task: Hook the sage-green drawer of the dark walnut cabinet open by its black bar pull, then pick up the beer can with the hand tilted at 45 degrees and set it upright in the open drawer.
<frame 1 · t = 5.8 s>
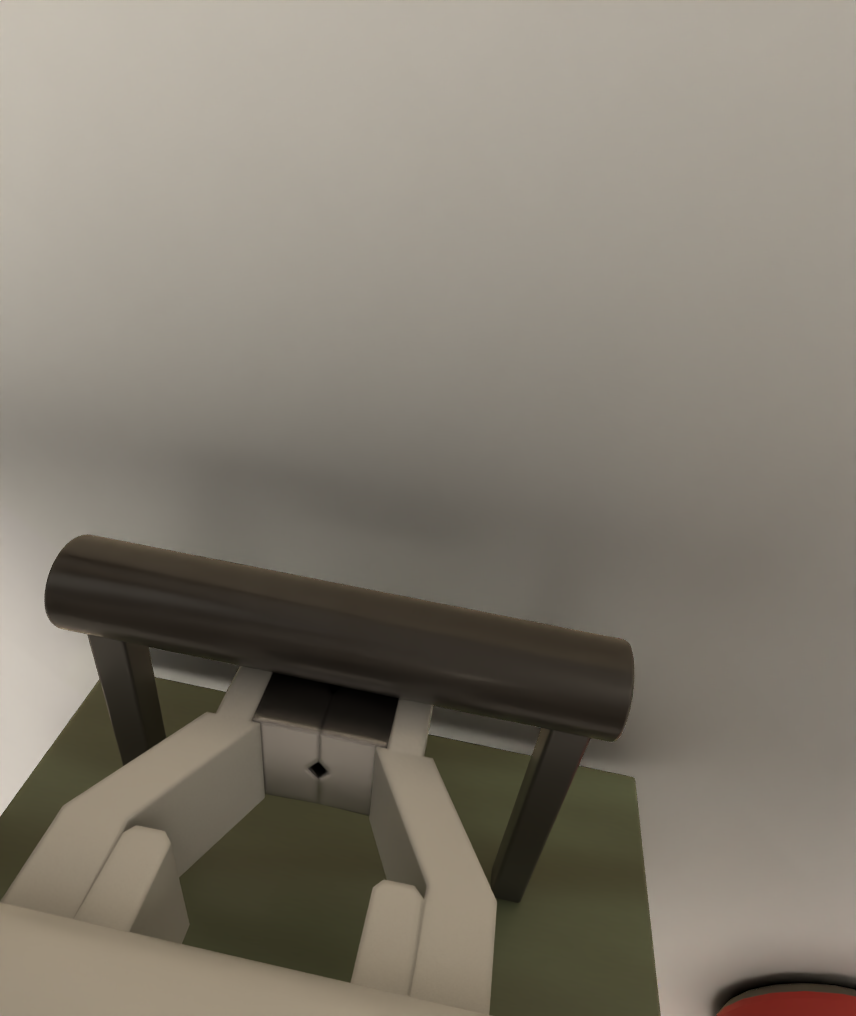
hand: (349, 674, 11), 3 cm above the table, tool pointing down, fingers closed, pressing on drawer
drawer: (319, 954, 15), point 4 cm above the table, slide at 3.2 cm, touching gripper
beer can: (810, 1010, 22), on the table
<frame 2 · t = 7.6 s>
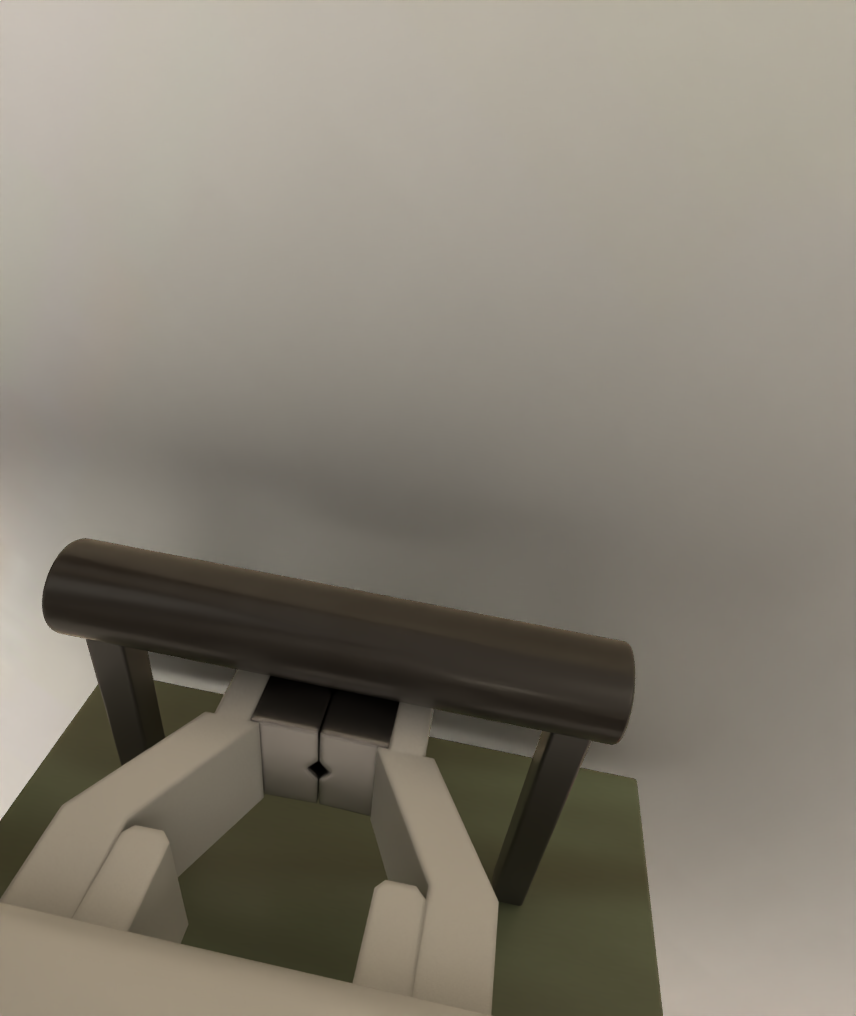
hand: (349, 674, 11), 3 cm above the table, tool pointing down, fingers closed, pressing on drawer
drawer: (320, 957, 15), point 4 cm above the table, slide at 10.2 cm, touching gripper
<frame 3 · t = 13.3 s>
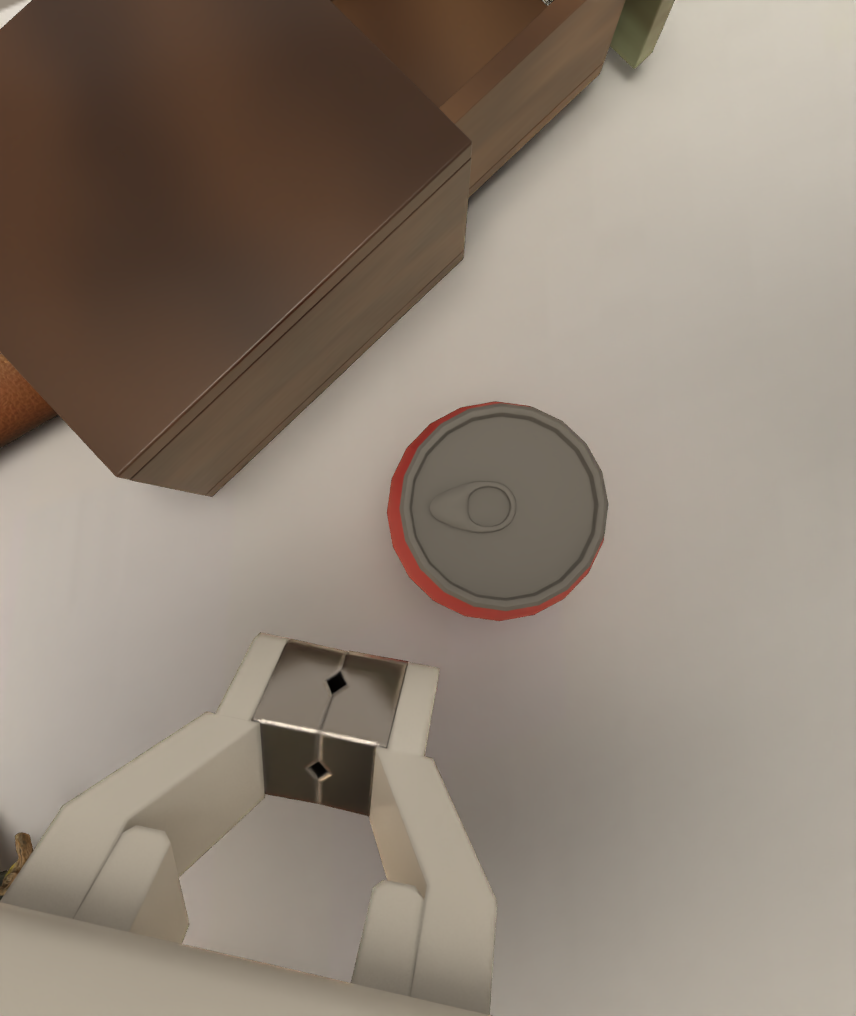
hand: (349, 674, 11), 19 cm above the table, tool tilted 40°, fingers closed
beer can: (477, 521, 30), on the table
cabinet: (235, 270, 30), on the table
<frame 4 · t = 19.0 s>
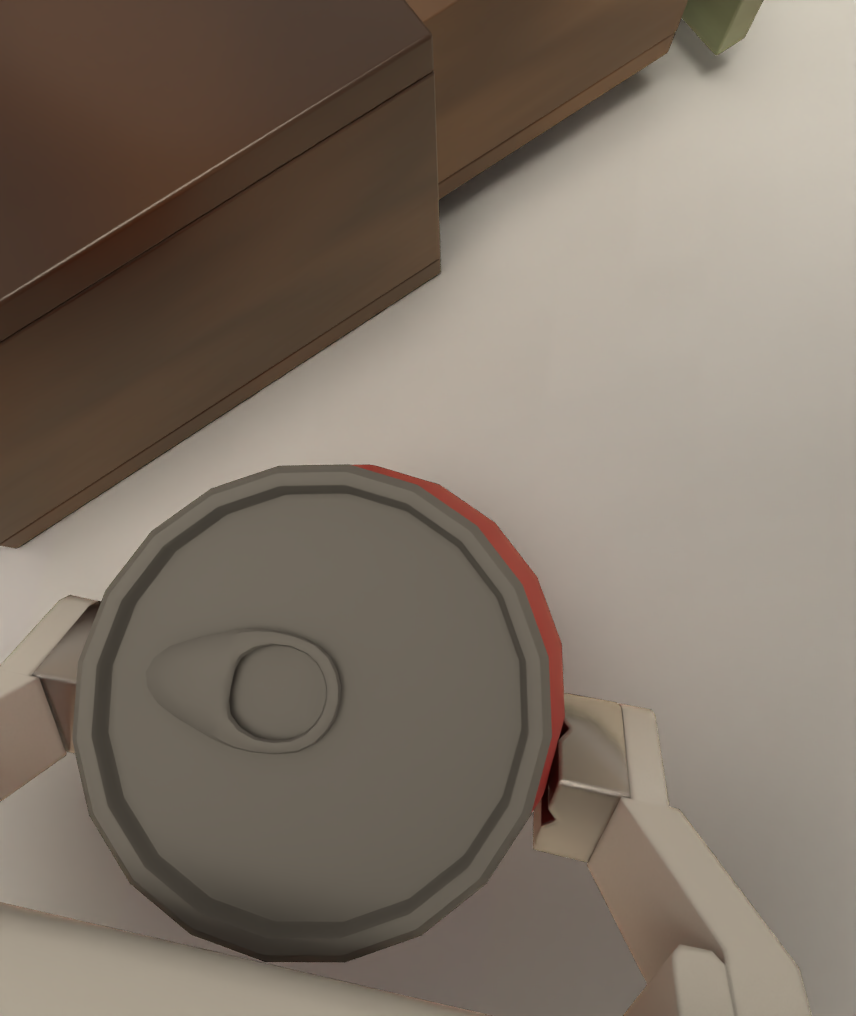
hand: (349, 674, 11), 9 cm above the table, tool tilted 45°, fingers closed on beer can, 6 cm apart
beer can: (396, 652, 20), on the table, touching gripper
cabinet: (127, 243, 22), on the table
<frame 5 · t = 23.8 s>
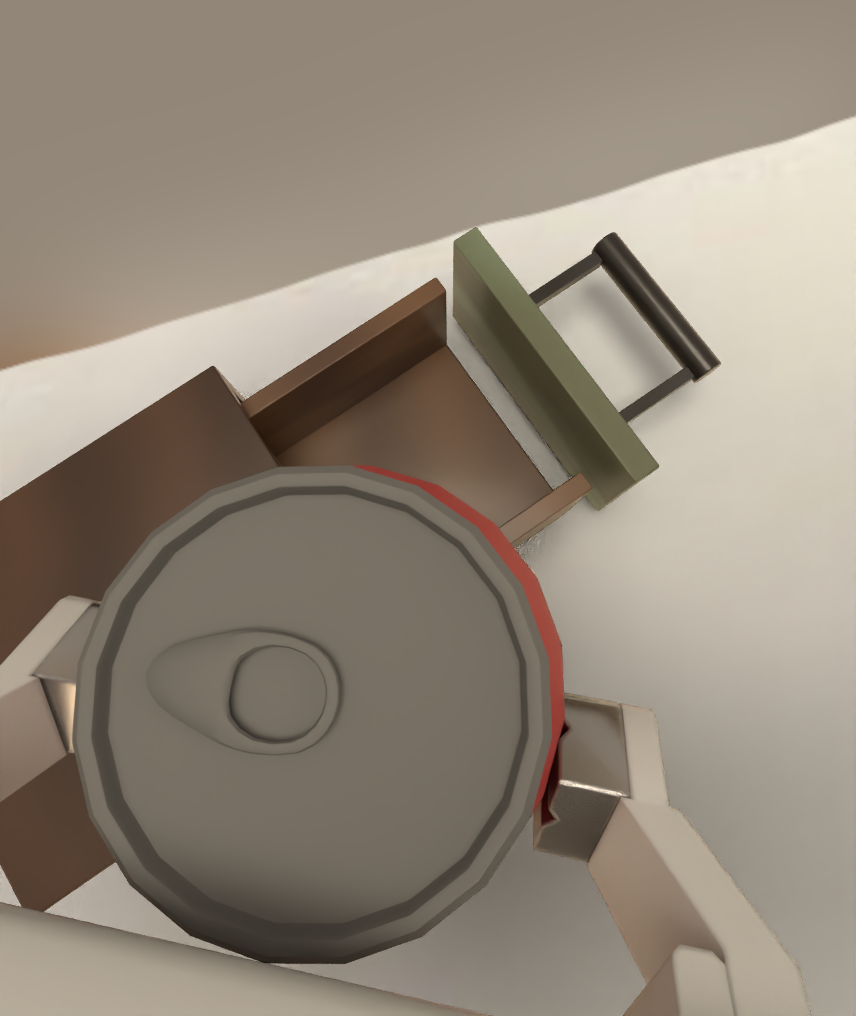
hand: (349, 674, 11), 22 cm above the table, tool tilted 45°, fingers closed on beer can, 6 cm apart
drawer: (481, 420, 30), point 4 cm above the table, slide at 11.1 cm
beer can: (396, 652, 19), point 13 cm above the table, touching gripper
cabinet: (211, 623, 33), on the table
when the fingers open (11 cm above the table, at t = 28.7 s): beer can stays where it is, resting on drawer.
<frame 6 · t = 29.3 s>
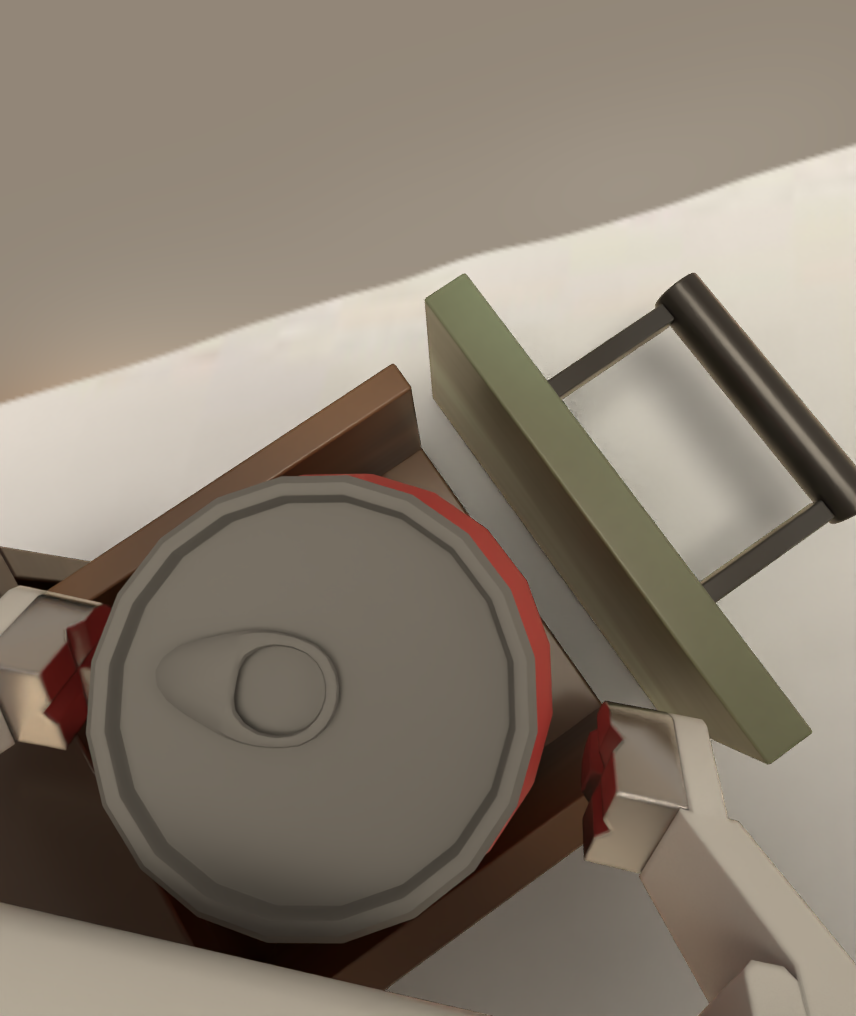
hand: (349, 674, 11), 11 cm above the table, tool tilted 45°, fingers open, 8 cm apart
drawer: (475, 594, 18), point 4 cm above the table, slide at 11.1 cm, touching beer can
beer can: (394, 652, 20), point 2 cm above the table, touching drawer
cabinet: (48, 891, 21), on the table
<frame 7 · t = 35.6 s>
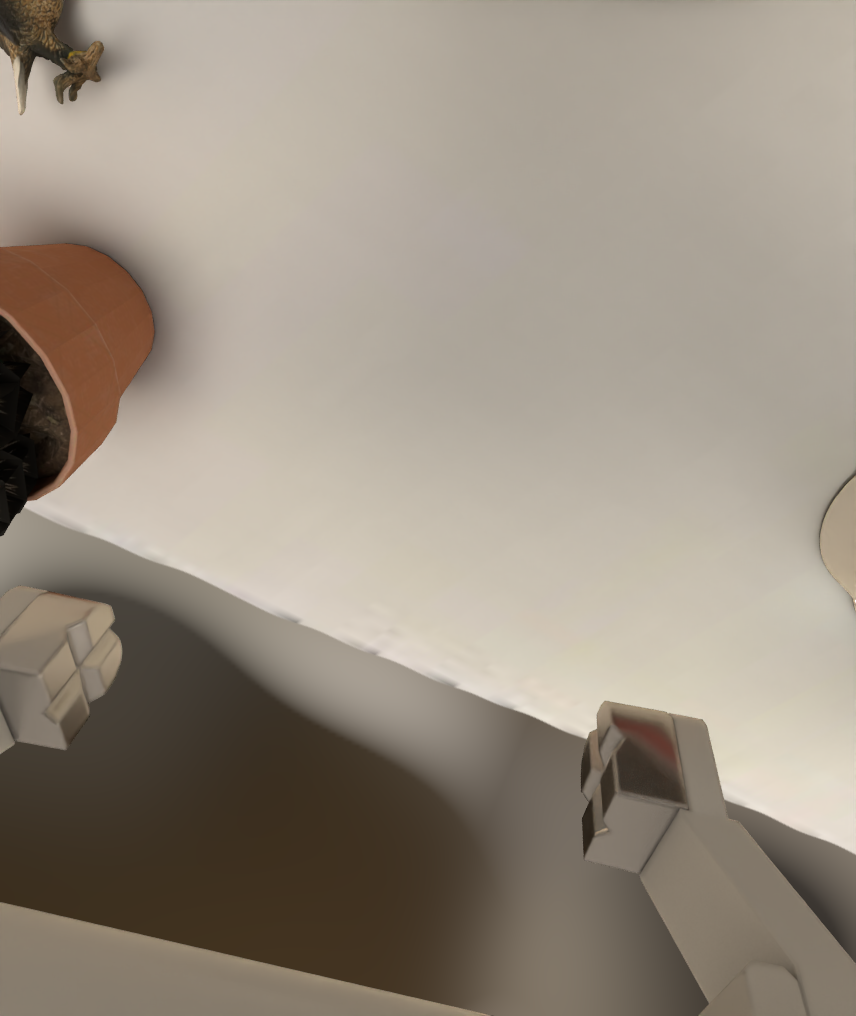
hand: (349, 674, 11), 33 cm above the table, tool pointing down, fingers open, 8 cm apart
potted plant: (94, 310, 45), on the table
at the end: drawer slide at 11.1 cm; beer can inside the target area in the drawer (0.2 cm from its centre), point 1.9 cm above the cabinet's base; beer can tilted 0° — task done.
